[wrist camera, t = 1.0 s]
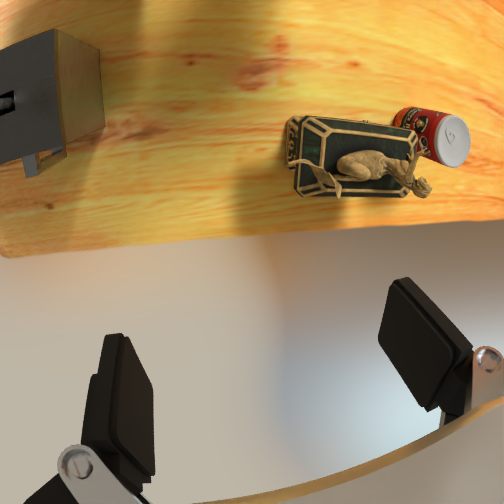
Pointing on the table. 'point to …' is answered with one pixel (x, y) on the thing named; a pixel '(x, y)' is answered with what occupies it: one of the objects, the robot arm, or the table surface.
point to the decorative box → (352, 158)
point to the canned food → (437, 134)
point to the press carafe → (48, 98)
